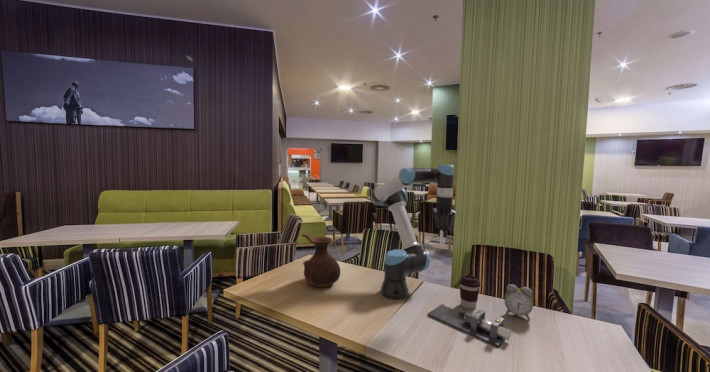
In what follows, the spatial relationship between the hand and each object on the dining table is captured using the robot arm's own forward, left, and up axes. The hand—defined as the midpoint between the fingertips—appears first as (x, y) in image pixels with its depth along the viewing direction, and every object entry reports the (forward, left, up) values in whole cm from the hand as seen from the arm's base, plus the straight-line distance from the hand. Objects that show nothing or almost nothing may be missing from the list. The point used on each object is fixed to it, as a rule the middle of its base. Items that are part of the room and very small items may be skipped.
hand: (442, 243), depth 144 cm
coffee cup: (+10, +11, -33) cm, 36 cm away
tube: (+25, -6, -31) cm, 41 cm away
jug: (-61, -28, -33) cm, 75 cm away
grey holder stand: (+17, -6, -32) cm, 37 cm away
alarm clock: (+30, +20, -33) cm, 49 cm away
